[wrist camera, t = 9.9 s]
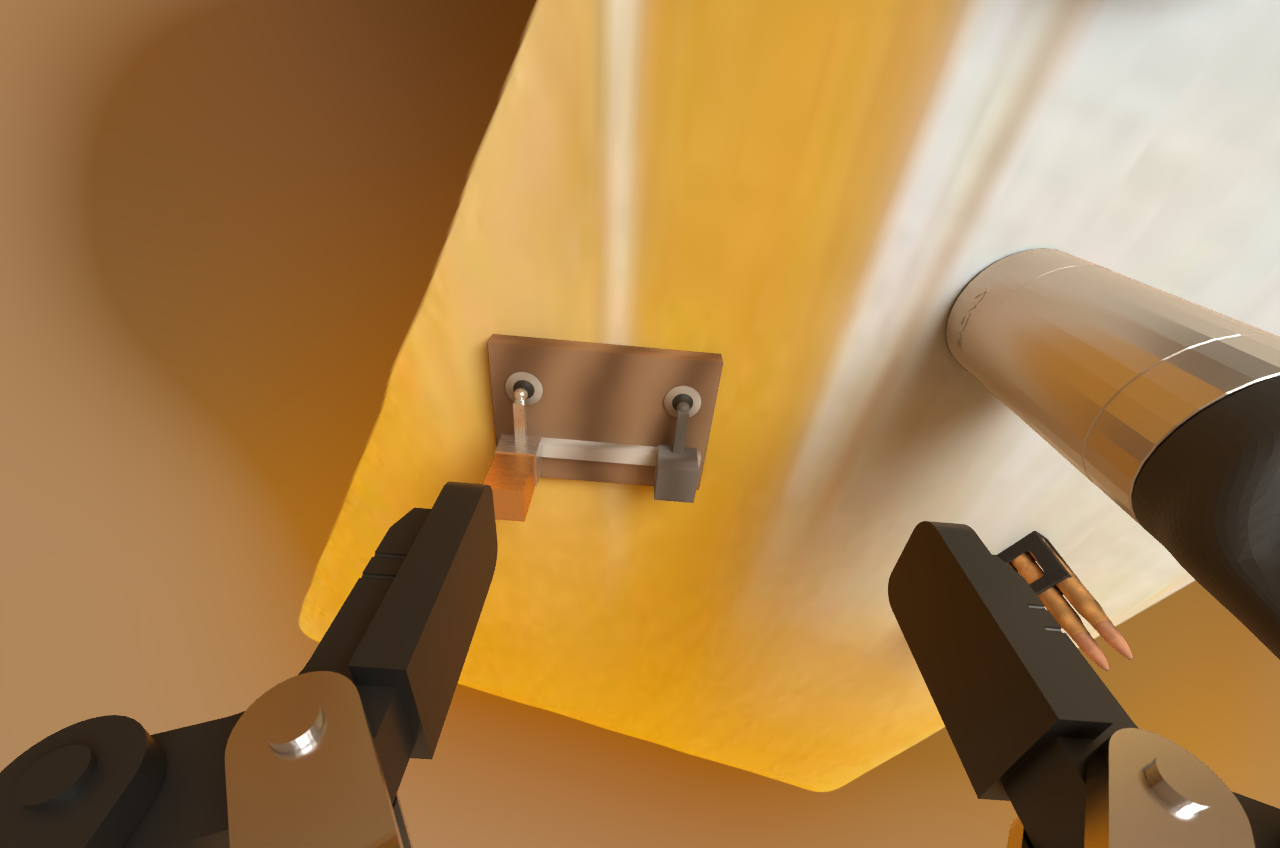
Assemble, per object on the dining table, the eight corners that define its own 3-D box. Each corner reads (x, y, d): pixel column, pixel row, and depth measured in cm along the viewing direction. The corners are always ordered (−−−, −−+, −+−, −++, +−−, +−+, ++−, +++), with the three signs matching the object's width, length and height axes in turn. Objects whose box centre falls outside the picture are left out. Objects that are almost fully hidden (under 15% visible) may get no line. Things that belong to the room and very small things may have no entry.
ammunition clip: (951, 599, 53) (1020, 718, 43) (939, 592, 52) (1006, 711, 42) (1047, 538, 48) (1151, 657, 38) (1035, 530, 47) (1137, 648, 37)
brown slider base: (720, 354, 38) (729, 390, 34) (697, 478, 45) (702, 522, 40) (493, 334, 38) (470, 367, 33) (503, 462, 45) (485, 505, 40)
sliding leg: (542, 387, 38) (521, 441, 32) (544, 462, 42) (525, 522, 36) (501, 383, 38) (473, 437, 32) (507, 459, 42) (483, 519, 36)
